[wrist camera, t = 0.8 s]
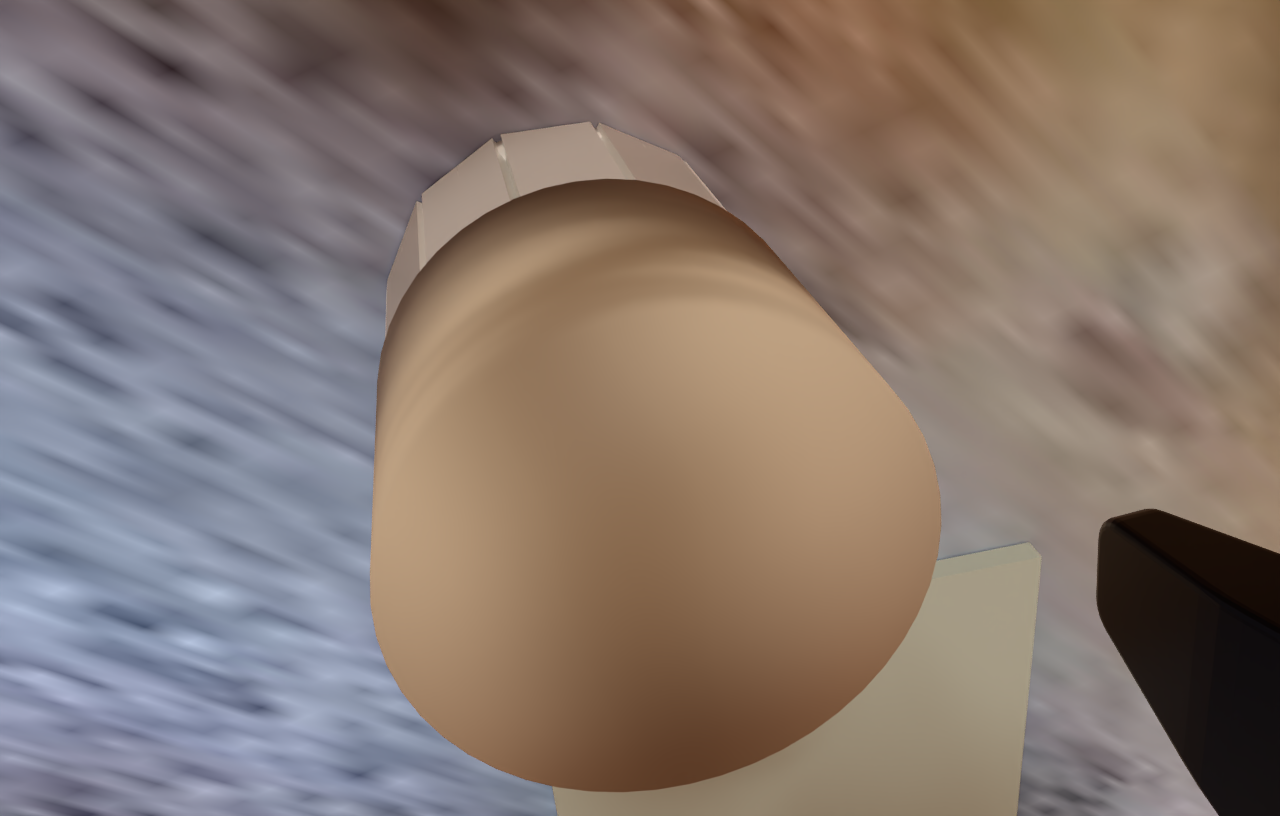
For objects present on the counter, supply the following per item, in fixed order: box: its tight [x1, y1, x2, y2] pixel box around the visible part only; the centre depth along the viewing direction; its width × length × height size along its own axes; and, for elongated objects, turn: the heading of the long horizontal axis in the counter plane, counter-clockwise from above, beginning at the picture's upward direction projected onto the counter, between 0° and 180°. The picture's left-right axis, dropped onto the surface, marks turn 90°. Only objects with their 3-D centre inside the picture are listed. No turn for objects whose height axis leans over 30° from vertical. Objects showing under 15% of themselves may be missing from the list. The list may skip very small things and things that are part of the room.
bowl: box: [385, 122, 726, 338], centre depth 20 cm, size 7×7×4 cm
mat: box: [552, 542, 1042, 816], centre depth 28 cm, size 12×12×1 cm
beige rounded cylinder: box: [370, 179, 941, 792], centre depth 16 cm, size 7×7×5 cm
